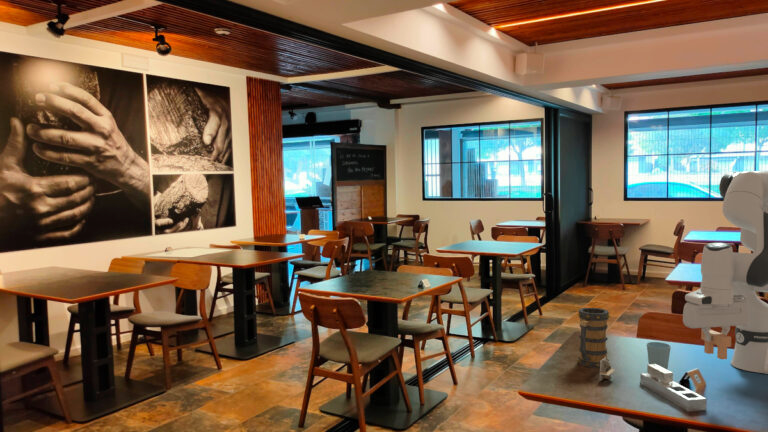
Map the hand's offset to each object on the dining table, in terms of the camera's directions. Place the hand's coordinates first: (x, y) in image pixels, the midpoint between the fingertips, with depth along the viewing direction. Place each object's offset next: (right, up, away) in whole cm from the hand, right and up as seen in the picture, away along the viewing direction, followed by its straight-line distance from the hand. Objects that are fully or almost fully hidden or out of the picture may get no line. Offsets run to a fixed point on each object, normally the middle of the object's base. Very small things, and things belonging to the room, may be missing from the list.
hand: (715, 340), depth 178 cm
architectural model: (-26, -19, +22) cm, 39 cm away
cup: (-5, -18, +27) cm, 32 cm away
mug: (-25, -17, +38) cm, 49 cm away
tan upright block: (0, -5, 0) cm, 5 cm away
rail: (-11, -19, +6) cm, 23 cm away
